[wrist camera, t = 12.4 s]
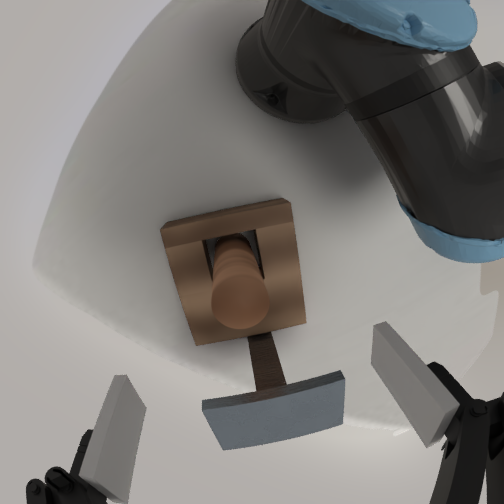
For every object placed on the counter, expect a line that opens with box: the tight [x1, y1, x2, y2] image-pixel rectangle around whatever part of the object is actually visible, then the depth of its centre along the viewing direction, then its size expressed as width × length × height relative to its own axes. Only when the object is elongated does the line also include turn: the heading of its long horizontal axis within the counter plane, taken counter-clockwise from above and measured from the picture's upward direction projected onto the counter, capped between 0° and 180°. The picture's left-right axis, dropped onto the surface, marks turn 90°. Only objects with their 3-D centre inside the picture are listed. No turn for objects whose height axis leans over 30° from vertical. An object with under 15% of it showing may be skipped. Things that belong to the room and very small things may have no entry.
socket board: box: [160, 198, 306, 346], centre depth 33 cm, size 15×14×4 cm
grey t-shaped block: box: [202, 331, 345, 450], centre depth 29 cm, size 7×12×17 cm, turn 101°
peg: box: [211, 233, 270, 329], centre depth 27 cm, size 4×4×14 cm
